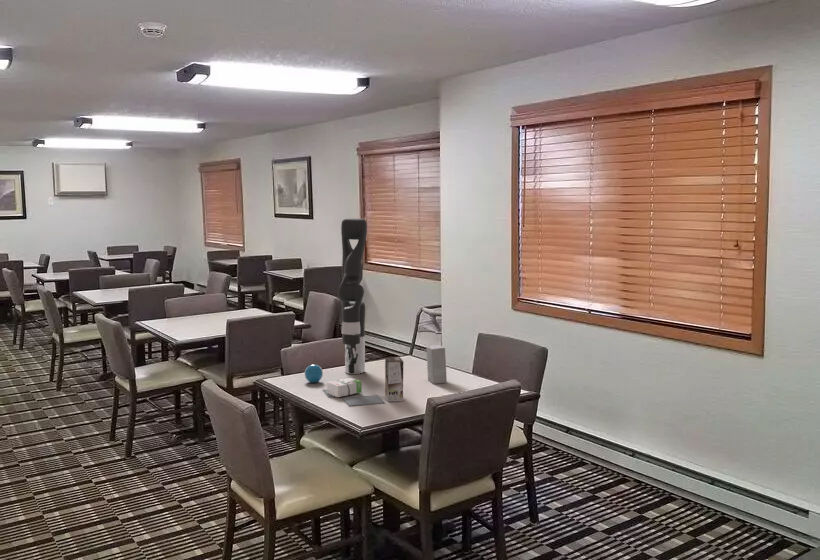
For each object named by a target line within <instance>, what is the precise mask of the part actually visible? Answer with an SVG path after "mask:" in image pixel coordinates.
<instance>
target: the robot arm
mask: <svg viewBox="0 0 820 560" xmlns="http://www.w3.org/2000/svg"><path fill="white" fill-rule="evenodd" d="M340 229H341V230H340V231H341V232H340V233H341V246H342V248H341V249H342V250H341V251H342V260H341V261H342V263H341V264H342V265H341V279H342V281H341V282H340V285H339V288H338V291H337V297H338V299H339V300H340V301H341V317H342V325H341V326H342V327H341V333H342V334H341V341H342V344H343V345H344V369H345V370H344V372H345V374H350V375H358V374H359V375H360V373H361V374H364V373H365V372H366V368H365V367H366V360H365V359H366V352H365V351H366V346H365V345H366V341H365V339H366V338H365V337H366V332H365V331H366V329H365V325H366V322H365V321H366V305H365V302H364V301H363V298H364V294H365V289H364V287H363V285H361V282H362V281H363V277H364V274H363V273H364V267H363V256H364V251H365V246H366V240H367V233H368V223H367V220H366V219H364V218H357V217H356V218H355V217H353V218H350V217H349V218H348V217H345V218H343V219H342V221H341V225H340ZM350 240H355V241H356V240H357V244H356V245H355V247H354V248H353V247H352V244H351V241H350ZM363 372H364V373H363Z"/></svg>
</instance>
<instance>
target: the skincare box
mask: <svg viewBox="0 0 820 560" xmlns="http://www.w3.org/2000/svg"><path fill="white" fill-rule="evenodd" d="M425 349H426V366H427V367H426V368H427V381H429V382H430V383H432V384H435V385H437V384H447V383H448V381H447V379H448V378H447V365H446V364H447V359H446V358H447V357H446V348H445V347H444V346H442V345H440V344H439V345H438V344H437V345H429V346H428V345H427V346H426V348H425Z"/></svg>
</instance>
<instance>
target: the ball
mask: <svg viewBox="0 0 820 560" xmlns="http://www.w3.org/2000/svg"><path fill="white" fill-rule="evenodd" d="M323 375H324V373H323V369H322V367H321V366H320V365H318V364H310V365H308V366H307V367H306V368H305V370H304V376H305V377H304V378H305V379H306V381H307V382H309V383H312V384H313V383H314V384H315V383H318V382H320V381H321V380H322V378H323Z"/></svg>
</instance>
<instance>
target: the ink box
mask: <svg viewBox="0 0 820 560" xmlns="http://www.w3.org/2000/svg"><path fill="white" fill-rule="evenodd" d="M326 385H327V387H326V389H327V393H328V394H330V395H333V396H335V397H334V398H341V397H342V398H343V397H347V396H346V395H350V396H352V395H354V394H360V393H362V390H363V389H362V387H363V386H362V381H361V380H359V379H356V378H352V377H348V378H343V379H337V380H331V381H327V382H326Z"/></svg>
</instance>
